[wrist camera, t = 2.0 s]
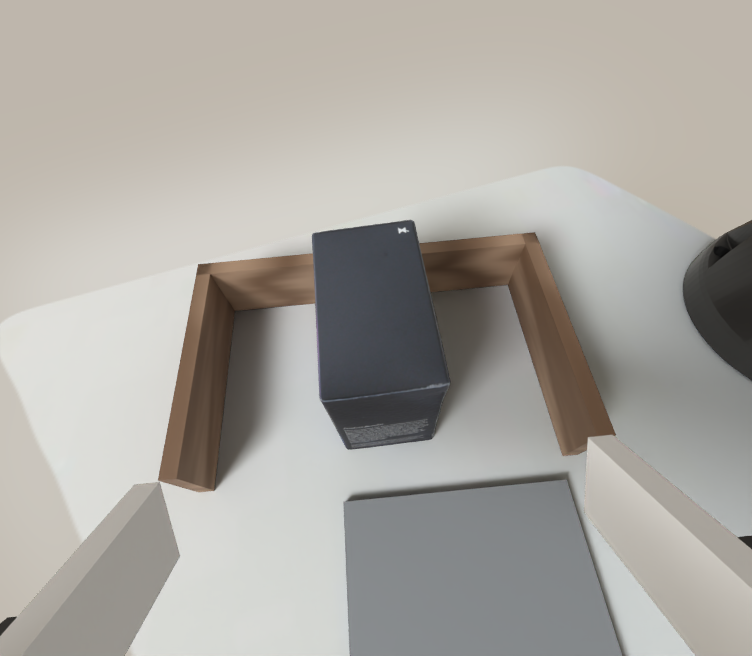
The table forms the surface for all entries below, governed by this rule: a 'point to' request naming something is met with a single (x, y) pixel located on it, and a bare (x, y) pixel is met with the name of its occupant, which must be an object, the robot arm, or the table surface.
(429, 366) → the small box
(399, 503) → the rubber mat
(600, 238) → the table surface
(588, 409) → the walnut bay
